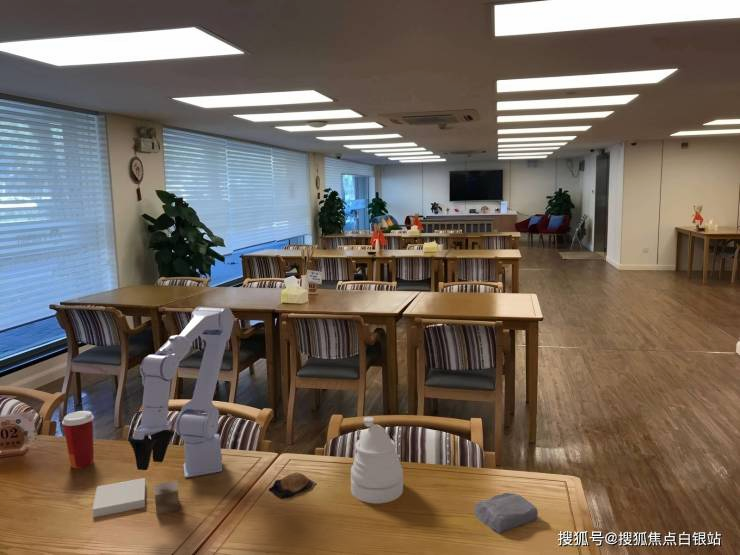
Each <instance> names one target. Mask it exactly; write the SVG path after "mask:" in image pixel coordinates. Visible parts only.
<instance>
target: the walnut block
mask: <svg viewBox="0 0 740 555" xmlns="http://www.w3.org/2000/svg"><path fill="white" fill-rule="evenodd" d="M154 500H155V501H154V502H155V514H156V516H159V515H163V514H168V513H169V514H170V513H175V512H178V511H180V501H179V488H178V480H174V481H168V482H163V483H158V484H154Z"/></svg>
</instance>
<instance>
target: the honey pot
mask: <svg viewBox="0 0 740 555" xmlns="http://www.w3.org/2000/svg"><path fill="white" fill-rule="evenodd" d="M362 420H363V424H364V425H365V426H366V427H367V428H368V429H367V430H366V432H364V434H363V437H362V438H359V439H358V440H357V441H356V442H355V444H354V449H355V450H356V454H355V455H354V460H353V464H352V465H351V468H350V492H351V494H352V496H353V497H354V498H355V499H357V500H359V501H361V502H364V503H368V504H384V503H389V502H393V501H395V500H397V499H398V498H400V497H401V495H402V494H403V492H404V475H403V473H404V471H403V467H402V465H401V461H400V459H399V454H398V453H397V451H396V448H397V447H396V446H397V444H396V442H395V441H394V440H393V439H392V438H391V436H390V434H388V432H387V431H386V429H385V428H384V427H383V426H381V425H379V424H377V423H374V420H375V417H372V416H366V417H364V418H363V419H362Z"/></svg>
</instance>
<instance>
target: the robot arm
mask: <svg viewBox="0 0 740 555" xmlns="http://www.w3.org/2000/svg"><path fill="white" fill-rule="evenodd" d="M190 315H191V316H190V321H189V322H188V323H187V325H186V326H185V327H184V329H183V330H181V332H180V334H176V335H175V334H174V335H171V336H170V337H168V340H167V341H166V342H165V343H164V344H163V345H162V346H161V347H160V348H159V349H158V350H157V351H156V352H155V353H153V354H148V355H147V356H145V357H144V358H143V359H142V361H141V365H140V366H139V372H140V376H141V384H142V386H143V393H142V394H143V395H142V396H143V397H142V405H141V406H142V407H141V408H142V409H141V418H140V421H141V422H140V425H139V426H138V427H137V428H136V429H135V430H134V431H133V436H131V437H130V438H129V444H130V446H131V447H132V450H133V452H134V457H135V463H136V469H137V470H138V471H139V470H140V471H147V470H148V468H149V466H150V463H151V462H150V460H151V456H152V462H153V463H163V462H164V459H165V456H166V453H167V450H168V446H169V445H170V442H171V440H172V438H174V436H175V432H176V433H177V435H178V436H180V440H183V447H184V448H183V451H184V463H182V464H183V474H184V478H185V479H187V478H193V477H198V476H203V475H209V474H215V473H218V472H219V473H221V472H222V471H223V463H222V461H223V454H222V447H221V446H222V445H221V437H220V434H219V433H217V432H218V429H219V417H220V416H219V414H220V411H219V409H218V407H216V405H214V404H213V399H214V395H215V390H216V387H217V382H218V379H219V374H220V371H221V365H222V362H223V357H224V354H225V350H226V344H227V342H228V341H229V340H230V339H231V334H232V331H233V326H234V322H235V320H234V319H235V318H234V315H233V312H232V310H231V309H230V308H229V307H208V306H207V307H205V306H197V307H195V309H194V310H193V311H192V312H191V314H190ZM199 337H200V338H201V339H202V340H204V341H205V346H204V352H203V356H202V361H201V364H200V368H199V371H198V375H197V380H196V383H195V385H194V386H195V388H194V391H193V395H192V398H191V399H190V400H189V401H188V402H186V403H184V404H183V405H182V406H181V410H180V412H179V414H178V416H177V418H176V420H175V424H174V425H175V430H173V429H172V420H168V417H169V416H168V415H169V414H168V413H169V404H170V403H169V402H170V390H171V380H172V379H173V378H174V377H176V375H177V372H178V368H179V366H180V363H181V361H183V360H184V358H185V357H186V356H187V355H188V354H189V353H190V351H191V343H193V342H194V341H195V340H196V339H197V338H199Z"/></svg>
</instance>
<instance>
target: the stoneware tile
mask: <svg viewBox="0 0 740 555" xmlns="http://www.w3.org/2000/svg"><path fill="white" fill-rule="evenodd" d="M94 494H95V495H94V500H93V504H92V516H93V517H92V518H98V517H103V516H108V515H113V514H114V515H115V514H118V513H123V512H128V511H134V510H138V509H143V508H146V478H145V477H142V478H136V479H131V480H126V481H122V482H115V483H108V484H102V485H99V486H96V490H95V493H94Z"/></svg>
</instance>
